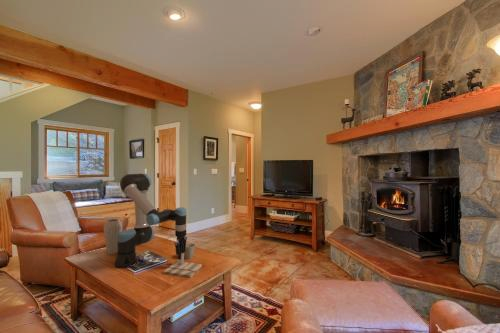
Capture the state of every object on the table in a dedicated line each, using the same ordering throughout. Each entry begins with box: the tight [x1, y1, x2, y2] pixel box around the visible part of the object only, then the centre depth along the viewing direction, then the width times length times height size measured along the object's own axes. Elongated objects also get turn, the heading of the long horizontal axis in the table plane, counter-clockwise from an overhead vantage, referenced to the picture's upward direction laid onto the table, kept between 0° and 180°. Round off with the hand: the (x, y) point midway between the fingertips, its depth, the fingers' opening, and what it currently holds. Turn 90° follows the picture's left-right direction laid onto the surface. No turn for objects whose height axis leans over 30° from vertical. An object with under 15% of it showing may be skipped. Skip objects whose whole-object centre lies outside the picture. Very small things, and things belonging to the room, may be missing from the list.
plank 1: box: [168, 260, 189, 270], centre depth 166 cm, size 10×9×2 cm
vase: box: [103, 218, 123, 255], centre depth 191 cm, size 13×13×26 cm
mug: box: [184, 243, 196, 260], centre depth 183 cm, size 8×13×10 cm, turn 78°
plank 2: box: [183, 262, 203, 274], centre depth 163 cm, size 10×9×2 cm
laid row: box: [162, 267, 196, 279], centre depth 161 cm, size 22×17×2 cm
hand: (181, 262), depth 168 cm, fingers closed
